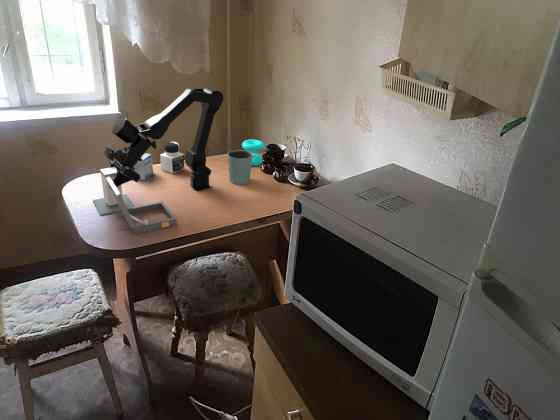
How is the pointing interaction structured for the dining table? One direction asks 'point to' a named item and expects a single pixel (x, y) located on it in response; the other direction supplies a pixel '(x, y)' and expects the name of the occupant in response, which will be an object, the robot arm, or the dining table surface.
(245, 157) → the grey teal cup
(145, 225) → the equipment case
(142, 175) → the medicine box
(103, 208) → the slate mat
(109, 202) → the block
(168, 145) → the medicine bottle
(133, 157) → the robot arm
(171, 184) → the dining table surface
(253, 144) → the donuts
